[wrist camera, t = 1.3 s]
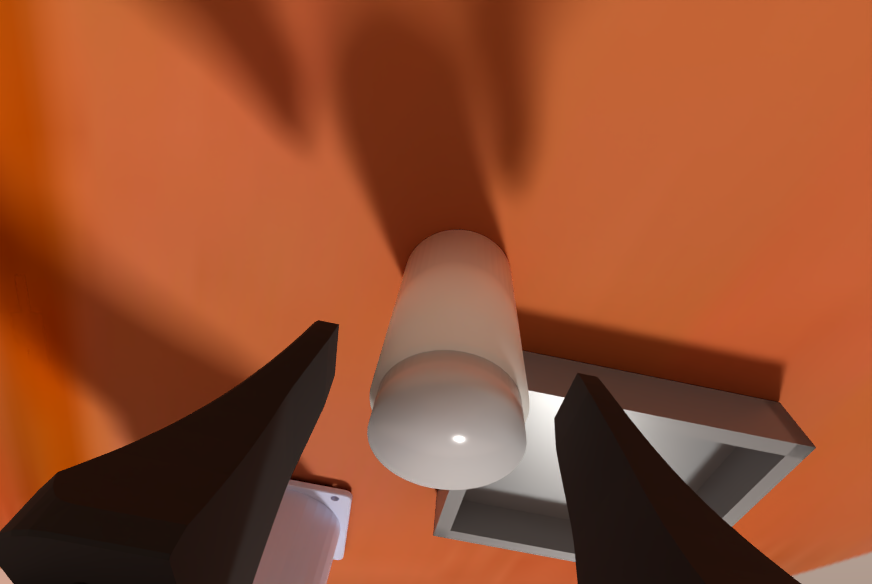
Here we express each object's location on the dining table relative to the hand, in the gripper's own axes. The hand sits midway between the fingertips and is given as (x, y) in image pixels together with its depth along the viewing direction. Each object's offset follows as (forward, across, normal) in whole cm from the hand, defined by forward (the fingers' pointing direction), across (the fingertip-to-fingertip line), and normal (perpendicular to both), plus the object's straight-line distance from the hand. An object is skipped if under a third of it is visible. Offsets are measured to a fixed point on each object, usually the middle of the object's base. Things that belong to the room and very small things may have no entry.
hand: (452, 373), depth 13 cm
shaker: (+6, 0, 0) cm, 6 cm away
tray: (+6, -9, +9) cm, 14 cm away
